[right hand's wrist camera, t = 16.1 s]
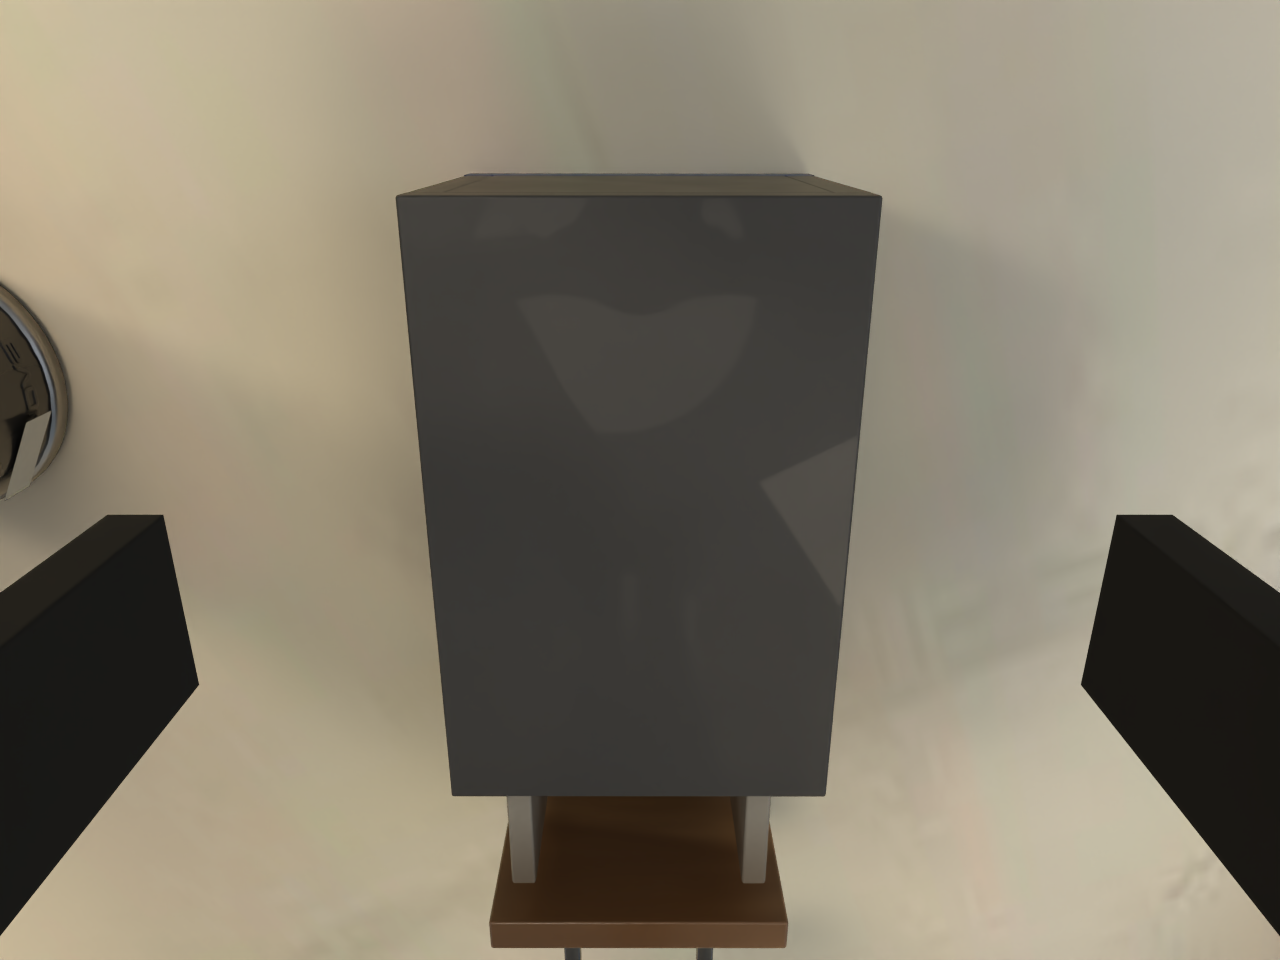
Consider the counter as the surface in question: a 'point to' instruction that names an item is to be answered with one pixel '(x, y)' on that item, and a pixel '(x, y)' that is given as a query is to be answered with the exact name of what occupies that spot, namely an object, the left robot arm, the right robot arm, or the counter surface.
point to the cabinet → (638, 472)
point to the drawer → (638, 874)
